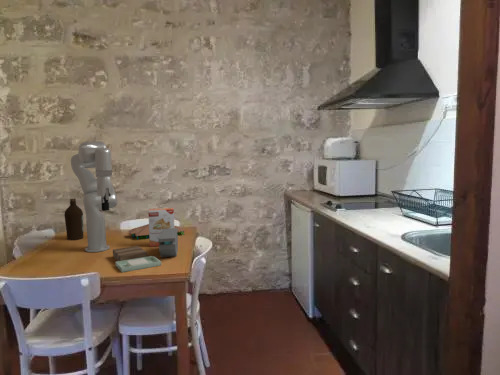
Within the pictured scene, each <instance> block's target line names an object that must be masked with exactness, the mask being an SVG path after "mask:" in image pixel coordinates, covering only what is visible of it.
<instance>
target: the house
mask: <svg viewBox="0 0 500 375" xmlns="http://www.w3.org/2000/svg"><path fill="white" fill-rule="evenodd" d="M174 228H178V232H177V233H178V235H179V236H182V235H184V234H185V232H186V230H185V229H184V228H183V227H181V226H178V225H174ZM128 233H129V234H130V235H131V236H132V238H133V239H136V240H137V241H138V240H139V239H144V237H145V239H147V240H148V239H149V223H147V224H144V225H141V226H138V227H134V228H132V229H130V230H128ZM134 237H135V238H134Z"/></svg>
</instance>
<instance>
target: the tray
mask: <svg viewBox="0 0 500 375" xmlns="http://www.w3.org/2000/svg"><path fill="white" fill-rule="evenodd" d="M142 258H144V259H146V260H147V261H148V262H149V263H146V264H140V265H134V266H129V267H128V266H127V261H129V260H124V261H115V262H114V263H115V267H116V268H117V269H118V270H119V271H120V272H121V273H126V272H133V271H137V270H138V271H139V270H143V269H150V268H154V267H159V266H160V267H161V266H162V261H161V260H160V259H158V258H157V257H156V256H154V255H148V257H142ZM136 259H141V258H136ZM130 260H135V259H130Z"/></svg>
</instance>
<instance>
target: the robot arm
mask: <svg viewBox="0 0 500 375" xmlns="http://www.w3.org/2000/svg"><path fill="white" fill-rule="evenodd" d="M77 152H78V153H76V154H74V155H73V156H71V158H70V166H71V168H72V169H71V170H72V172H73V173H74V175H75V177H76V178H77V180H78V182H79V185H80V187H81V190H82V193H83V194H84V195H83V199H82V203H83V207H84V211H85V219H86V234H87V235H86V236H87V246H86V247H85V248H84V251H85V252H87V253H97V252H98V253H99V252H103V251H104V252H105V251H107V250H109V249H110V245H109V244H107V232H106V231H107V230H106V219H105V218H106V217H105V215H104V214H103V212H104V211H105V212H107V211H109V210H110V209H112V208H116V207H117V206H118V196H117V194H116V190H115V188H114V186H113V183H112V180H111V177H113V172H112V171H113V168H112V167H113V166H112V165H113V164H112V151H111V149H110V148H108V147H107V145H106V143H105V142H103V141H99V140H98V141H97V140H96V141H90V140H89V141H83V142H81V143H80V145H78V151H77ZM89 169H95V174H94V173H93V172H92V171H91V170H89ZM101 211H103V212H101Z"/></svg>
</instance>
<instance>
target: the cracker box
mask: <svg viewBox="0 0 500 375" xmlns="http://www.w3.org/2000/svg"><path fill="white" fill-rule="evenodd" d="M174 210H175V208H174V207H165V208H163V207H161V208H149V209H148V224H149V237H148V239H149V247H151V248H152V247H159V244H160V242H159V240H158V239H159V237H160V234H161V232H162V230H163V229H171V228H174V226H175V211H174Z"/></svg>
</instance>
